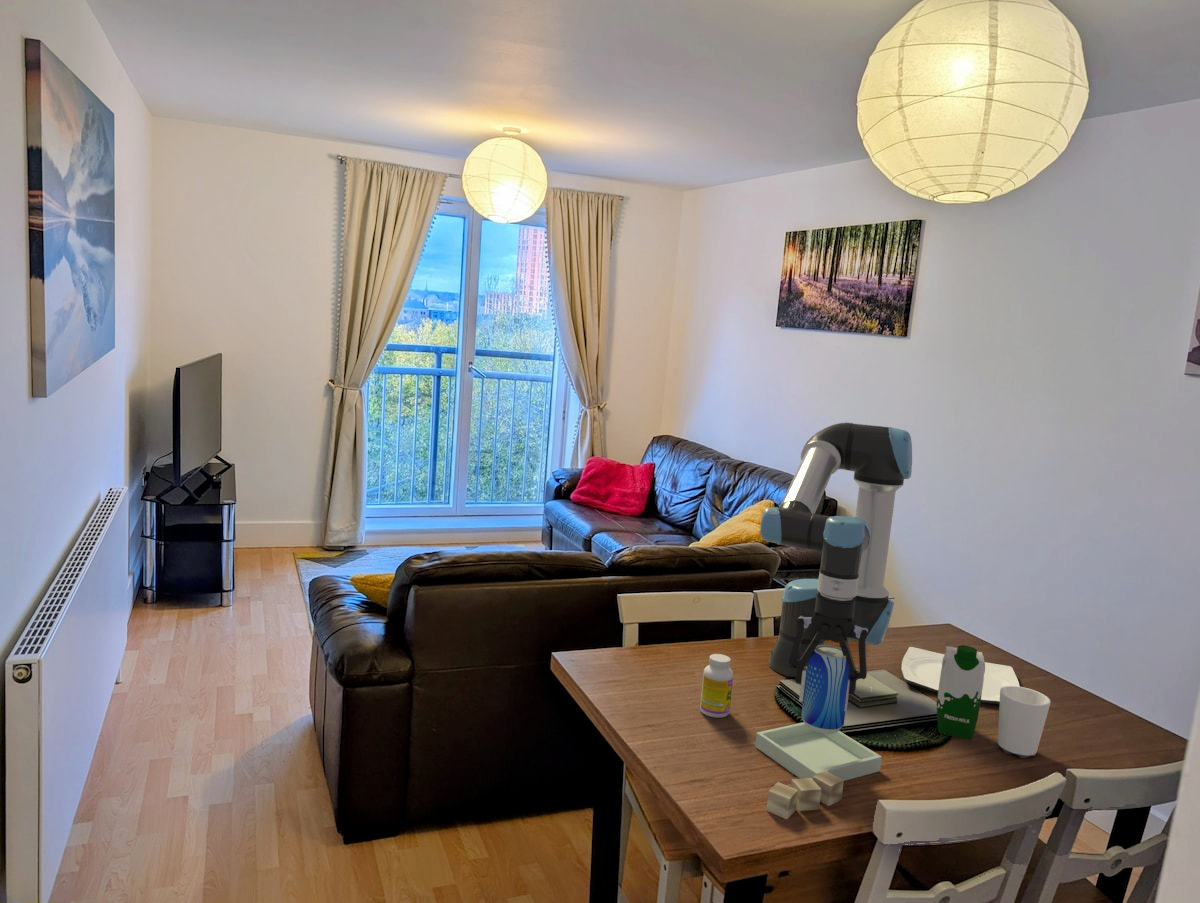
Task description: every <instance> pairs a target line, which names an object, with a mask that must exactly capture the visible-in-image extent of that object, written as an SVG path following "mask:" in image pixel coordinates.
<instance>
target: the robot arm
mask: <svg viewBox="0 0 1200 903" xmlns="http://www.w3.org/2000/svg"><path fill="white" fill-rule="evenodd" d="M800 461H801V462H800V464H799V466H798V468H797V469H796V472H795V474H794V476H793V477H792V480H791V482H790V485H789V486H788V488H787V491H786V493H785V495H784V497H783V498H782V501H781V502H780V505H779V507H778V506H775V507H772V506H771V507H767V508H765V509H764V511H763V513H762V515H761V521H760V529H759V530H760V537H761V538H762V540H763V541H765V542H769V543H774V544H776V545H778V546H780V545H782V546H789V547H795V548H799V549H806V550H812V551H815V552H817V551H818V552H821V558H820V567H819V575H818V578H800V579H794V580H792V581H790V582H788V583H787V584H786V585H785V587H784V591H783V597H782V599H781V602H782V604H781V606H782V607H781V613H780V624H779V633H778V637H777V639H776V642H775V644H774V646H773V648H772V650H771V652H770V654H769V658H768V659H769V660H768V665H769V668H771V669H772V670H773V671H774V672H776V673H778V674H780V675H782V676H786V677H788V678H792V677H794V676H796V678H795V684H798V685H800V689H799V690H800V692H799V698H798V699H799V700H798V702H799V703H800V702H801V703H803V698H804V690H805V682H806V673H807V665H808V660H809V658H810V656H811V655H812V653H813V652H814V650H815V648H816V647H817V646H818V645H826V641H831V642H833V643H837V644H839V648H841V649H842V652H843V656H846V660H847V662H848V664H849V667H850V672H849V676H850V679H849V680H848V686H847V693H846V701H845V709H844V711H846V712H847V708H848V703H849V696H850V695H851V696H854V695H855V693H856V686H857V681H858V680H860V679H861V680H865V679H867V676H868V675H867V674H868V666H867V665H868V664H867V645H871V646H880V645H881V644H882V643H883V642H884V639H885V637H886V633H887V631H888V627H889V624H890V620H891V617H892V613H893V609H894V606H895V603H894V601H892V600H891V599H889V595H890V592H889V590H887V587H885V586H884V585H885V577H886V568H887V561H888V560H887V559H888V554H889V545H890V537H891V530H892V521H893V517H894V516H893V513H894V507H895V499H896V492H897V491H898V490H899V489H900V488H901V487H903V486H904V481H905V480H909V479H910V478H911V477H912V466H913V442H912V436H911V434H910V433H909V431H907V430H905V429H902V428H896V427H891V426H881V425H870V424H862V423H861V424H860V423H854V422H839V423H835V424H832V425H829V426H827V427H825V428H823V429H821V430H819V431H818V432H816V433H814V435H812V436H811V437H810V438H809V439H808V440H807V441H806V443H805V445H804V446H803V448H802V450H801V453H800ZM838 470H845V471H850V472H854V474H853V480H854V481H855V483H856V484H857V485H858V494H857V500H856V509H855V511H856V512H855V516H844V515H834V516H828V515H823V514H816V512H817V509H818V507H819V505H820V502H821V500H822V497H823V495H824V493H825V490H826V488H827V485H828V483H829V481H830V479H831V477H832V475H833V474H835V473H836V472H838ZM849 641H851V642H855V643H858V661H859V662H858V663H859V664H858V665H859V670H857V668H856V664H855V662H854V659H853V658H854V657H853V654H852V652H851V648H850V645H849Z"/></svg>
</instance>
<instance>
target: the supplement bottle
mask: <svg viewBox="0 0 1200 903" xmlns="http://www.w3.org/2000/svg"><path fill="white" fill-rule="evenodd" d="M731 661H732V660H731V658H730V656H727V655H725V654H721V653H714V654H710V655H709V660H708V662H709V665H706V667H704V669H703V673H702V686H701V695H700V703H699V705H700V706H699V710H700V711H701V713H702V714H703V715H705V716H707V717H711V718H714V719H715V718H716V719H721V718H726V717H728V716H729V715H730V713H731V712H730V710H731V702H732V701H731V700H732V692H733V691H732V690H733V683H734V682H733V681H734V673H733V670H732V669H731V668H730V665H731Z"/></svg>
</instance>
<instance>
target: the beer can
mask: <svg viewBox="0 0 1200 903" xmlns="http://www.w3.org/2000/svg"><path fill="white" fill-rule="evenodd" d="M849 672H850V667H849V664H848V662H847V660H846V656H843V652H842V649H841V647H840V646H835V645H831V644H830V645H829V644H825V645H818V646H817V647H816V648H815V650H814V652H813V653H812V655H811V656H810V658H809V660H808V665H807V673H806V682H805V690H804V698H803V702H802V709H801V719H802V721H803V722H804V724H805V726H806V727H807V728H809V729H810V730H812V731H815V732H818V733H823V734H834V733H837V732H838V731H841V730H840V729H842V728H843V727H844V725H845V720H846V719H845V718H846V712H847V710H846V711H844V709H845V701H846V693H847V686H848V680H849V679H850V676H849Z"/></svg>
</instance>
